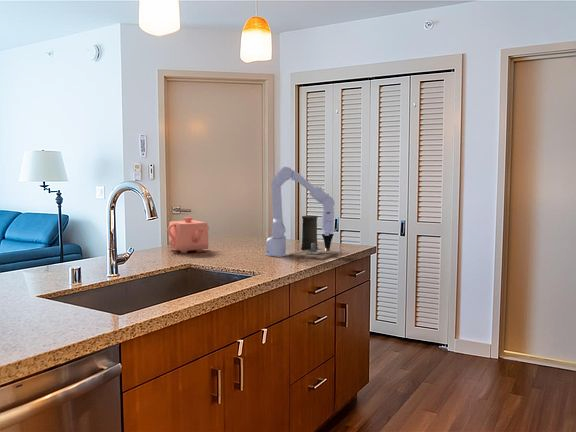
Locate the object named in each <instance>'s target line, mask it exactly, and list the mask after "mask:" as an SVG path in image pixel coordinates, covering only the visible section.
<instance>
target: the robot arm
mask: <svg viewBox="0 0 576 432" xmlns="http://www.w3.org/2000/svg"><path fill="white" fill-rule="evenodd" d="M289 180H291V181H294V182H297V183H299V184H300V185H301V186H303V187H304V188H305V189H306V190H308V192H309V195H310V196H311V197H312V198H313V199H314V200H316V201H317V202H318V203H319V204H321V205H322V213H321V215H322V216H321V217H322V218H321V220H322V221H321V222H322V223H321V232H322V233H321V236H322V239H323V242H324V250H325V249H330V250H331V245H332V239H333V237H334V233H335V232H337V230H336V229H335V227H334V225H335V223H334V222H335V207H334V206H335V200H334V199H333V198H332V196H330V194H329V193H326V191H324V190H323V189H322V186H318V185H312V183H310V181H308V180H307V179H306V178H304V176H302V175H301V174H300V173H298V172H297V171H295V170H294V169H292V168H291V167H289V166H283V167H281V168H280V169H279V170H278V171H277V172H276V175H275V176H274V177H273V179H272V181H271V184H270V185H271V186H270V187H271V203H272V204H271V205H272V218H273V219H272V229H271V236H269V237H268V238H267V239H266V242H265V254H264V256H269V257H277V258H282V257H286V256H289V254H290V253H286V251H287V250H286V249H287V248H286V247H287V243H286V242H287V239H286V238H287V237H286V236H285V233H286V227H285V225H284V218H283V217H284V216H283V203H282V186H283V185H284V183H285V182H287V181H289Z"/></svg>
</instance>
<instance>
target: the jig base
mask: <svg viewBox="0 0 576 432" xmlns="http://www.w3.org/2000/svg"><path fill="white" fill-rule="evenodd" d="M305 251H306V250H299V251H297V252H293V253H288V254H289V255H288V257H289V258H296V259H297V258H298V259H306V260H317V261H323V260H327V259H329V258H333V257H336V256H338V255H339V252H335V251H330V253H321V254H307V253H305ZM311 251H313V252H314V251H316V243H311Z"/></svg>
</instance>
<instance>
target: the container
mask: <svg viewBox="0 0 576 432" xmlns="http://www.w3.org/2000/svg"><path fill="white" fill-rule="evenodd" d="M301 219H302V224H301V225H302V226H301V227H302V229H301V231H302V232H301V233H302V234H301V236H302V238H301V247H300V249H301V250H300V251H304V250H311V243H316V250H319V245H318V216H317V215H302V217H301Z"/></svg>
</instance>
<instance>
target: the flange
mask: <svg viewBox="0 0 576 432" xmlns="http://www.w3.org/2000/svg"><path fill="white" fill-rule="evenodd" d="M330 252H331V248H330V249H325V248H324V250H323V249H318V250H316V251H314V252H313V251H311V250H306V251H305V253H307V254H321V253H330Z"/></svg>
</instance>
